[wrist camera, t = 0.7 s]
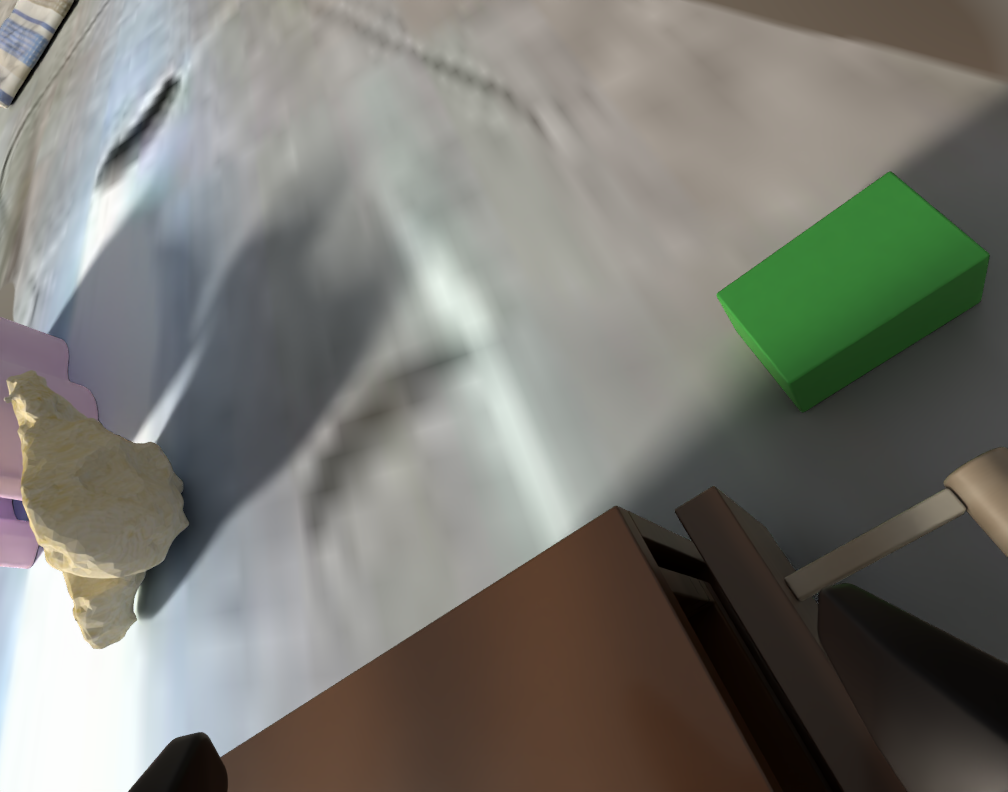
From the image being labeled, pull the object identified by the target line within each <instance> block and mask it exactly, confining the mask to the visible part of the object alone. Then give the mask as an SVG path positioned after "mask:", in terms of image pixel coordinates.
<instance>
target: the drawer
mask: <svg viewBox="0 0 1008 792" xmlns="http://www.w3.org/2000/svg"><path fill="white" fill-rule="evenodd" d="M944 486H945V487H946V489H944V490H942V491H940V492H938V493H936V494H935V495H933V496H931V497H929V498H927V499H926V500H924V501H922V502H920V503H918V504H917V505H915V506H913V507H911V508H909V509H908V510H906V511H904V512H902V513H900V514H899V515H897V516H895V517H893V518H891V519H890V520H888V521H886V522H884V523H882V524H880V525H879V526H877V527H875V528H873V529H871V530H870V531H868V532H866V533H864V534H862V535H861V536H859V537H857V538H855V539H853V540H852V541H850V542H848V543H846V544H844V545H843V546H841V547H839V548H837V549H835V550H834V551H832V552H830V553H828V554H826V555H824V556H823V557H821V558H819V559H817V560H815V561H814V562H812V563H810V564H808V565H806V566H805V567H803V568H801V569H799V570H797V571H795V570H794V568H793V567H792V565H791V564H790V562H789V561H788V559H787V558H786V556H785V555H784V554H783V552H782V551H781V549H780V548H779V546H778V545H777V543H776V542H775V540H774V539H773V537H772V536H771V534H770V533H769V531H768V530H767V528H766V527H765V526H764V525H762V524H761V523H760V522H759V521H757V520H756V519H755V518H754V517H752V516H751V515H750V514H749V513H748V512H746V511H745V510H744V509H743V508H741V507H740V506H739V505H738V504H736V503H735V502H734V501H733V500H732V499H730V498H729V497H728V496H727V495H725V494H724V493H723V492H722V491H720V490H719V489H718V488H717V487H715V486H712V487H710V488H709V489H707V490H706V491H704V492H702V493H701V494H699V495H697V496H696V497H694V498H693V499H691V500H689V501H688V502H686V503H685V504H683V505H681V506H680V507H678V508H676V509H675V513H676V515H677V517H678V518H679V520H680V522H681V523H682V525H683V527H684V528H685V530H686V532H687V533H688V535H689V537H690V538H691V540H692V542H693V543H694V545H695V547H696V548H697V550H698V552H699V553H700V555H701V557H702V558H703V560H704V562H705V563H706V565H707V567H708V568H709V570H710V572H711V573H712V575H713V577H714V578H715V580H716V582H717V583H718V585H719V587H720V588H721V590H722V592H723V593H724V595H725V597H726V598H727V600H728V602H729V603H730V605H731V607H732V608H733V610H734V612H735V613H736V615H737V617H738V618H739V620H740V622H741V623H742V625H743V627H744V628H745V630H746V632H747V633H748V635H749V637H750V638H751V640H752V642H753V643H754V645H755V647H756V648H757V650H758V652H759V653H760V655H761V657H762V658H763V660H764V662H765V663H766V665H767V667H768V668H769V670H770V672H771V673H772V675H773V677H774V678H775V680H776V682H777V683H778V685H779V687H780V688H781V690H782V692H783V693H784V695H785V697H786V698H787V700H788V702H789V703H790V705H791V707H792V708H793V710H794V712H795V713H796V715H797V717H798V718H799V720H800V722H801V723H802V725H803V727H804V728H805V730H806V732H807V733H808V735H809V737H810V738H811V740H812V742H813V743H814V745H815V747H816V748H817V750H818V752H819V753H820V755H821V757H822V758H823V760H824V762H825V763H826V765H827V767H828V768H829V770H830V772H831V773H832V775H833V777H834V778H835V780H836V782H837V783H838V785H839V787H840V788H841V790H842V792H907V791H906V789H905V788H904V786H903V785H902V783H901V782H900V780H899V779H898V777H897V776H896V774H895V773H894V771H893V770H892V768H891V767H890V766H889V764H888V762H887V761H886V759H885V758H884V756H883V755H882V753H881V752H880V750H879V749H878V747H877V745H876V744H875V742H874V740H873V738H872V737H871V735H870V733H869V731H868V730H867V728H866V726H865V724H864V722H863V720H862V719H861V717H860V715H859V713H858V711H857V709H856V708H855V706H854V704H853V702H852V700H851V698H850V697H849V695H848V693H847V691H846V689H845V687H844V686H843V684H842V682H841V680H840V678H839V676H838V675H837V673H836V671H835V669H834V667H833V665H832V663H831V662H830V660H829V658H828V656H827V654H826V652H825V651H824V649H823V647H822V645H821V642H820V640H819V636H818V631H817V621H818V604H817V602H816V601H815V599H814V598H813V595H815V594H816V593H818V592H820V591H821V589H823V588H825V587H829V586H831V585H833V584H835V583H837V582H839V581H841V580H842V579H844V578H846V577H848V576H850V575H852V574H854V573H855V572H857V571H859V570H861V569H863V568H865V567H867V566H868V565H870V564H872V563H874V562H876V561H878V560H880V559H881V558H883V557H885V556H887V555H889V554H891V553H893V552H894V551H896V550H898V549H900V548H902V547H904V546H906V545H907V544H909V543H911V542H913V541H915V540H917V539H919V538H920V537H922V536H924V535H926V534H928V533H930V532H932V531H933V530H935V529H937V528H939V527H941V526H943V525H945V524H946V523H948V522H950V521H952V520H954V519H956V518H958V517H959V516H961V515H963V514H964V513H965V511H967V512H968V513H969V514H970V516H971V517H972V518H973V519H974V520H975V521H976V522H977V523H978V525H979V526H980V527H981V528H982V529H983V530H984V531H985V533H986V534H987V535H988V536H989V537H990V538H991V539H992V541H993V542H994V543H995V544H996V545H997V546H998V547H999V549H1000V550H1001V551H1002V552H1003V553H1004V554H1005V555H1006V556H1007V558H1008V449H1007V448H1005V447H999V448H995V449H992V450H990V451H987V452H985V453H983V454H981V455H979V456H977V457H975V458H974V459H972V460H970V461H969V462H967V463H965V464H964V465H962V466H961V467H959V468H958V469H956V470H955V471H954V472H952V473H951V474H950V475H949V476H948V477H947V478H946V479H945V480H944ZM659 569H660V570H661V572H662V574H663V576H664V578H665V579H666V581H667V583H668V585H669V587H670V588H671V590H672V592H673V594H674V596H675V597H676V599H677V601H678V603H679V605H680V606H681V608H682V610H683V612H684V614H685V615H686V617H687V619H688V621H689V623H690V624H691V626H692V628H693V630H694V632H695V633H696V635H697V637H698V639H699V641H700V642H701V644H702V646H703V648H704V650H705V651H706V653H707V655H708V657H709V659H710V660H711V662H712V664H713V666H714V668H715V669H716V671H717V673H718V675H719V677H720V678H721V680H722V682H723V684H724V686H725V687H726V689H727V691H728V693H729V695H730V696H731V698H732V700H733V702H734V704H735V705H736V707H737V709H738V711H739V713H740V714H741V716H742V718H743V720H744V722H745V723H746V725H747V727H748V729H749V731H750V732H751V734H752V736H753V738H754V740H755V741H756V743H757V745H758V747H759V749H760V750H761V752H762V754H763V756H764V758H765V760H766V761H767V763H768V765H769V767H770V769H771V770H772V772H773V774H774V776H775V778H776V779H777V781H778V783H779V785H780V787H781V788H782V790H783V792H833V791H832V789H831V788H830V786H829V784H828V782H827V781H826V779H825V777H824V776H823V774H822V772H821V771H820V769H819V767H818V766H817V764H816V762H815V761H814V759H813V757H812V755H811V754H810V752H809V750H808V749H807V747H806V745H805V744H804V742H803V740H802V739H801V737H800V735H799V734H798V732H797V730H796V728H795V727H794V725H793V723H792V722H791V720H790V718H789V717H788V715H787V713H786V712H785V710H784V708H783V707H782V705H781V703H780V701H779V700H778V698H777V696H776V695H775V693H774V691H773V690H772V688H771V686H770V685H769V683H768V681H767V680H766V678H765V676H764V674H763V673H762V671H761V669H760V668H759V666H758V664H757V663H756V661H755V659H754V658H753V656H752V654H751V653H750V651H749V649H748V647H747V646H746V644H745V642H744V641H743V639H742V637H741V636H740V634H739V632H738V631H737V629H736V627H735V626H734V624H733V622H732V620H731V619H730V617H729V615H728V614H727V612H726V610H725V609H724V607H723V605H722V604H721V602H720V600H719V599H718V597H717V595H716V593H715V592H714V590H713V588H712V587H711V585H710V584H709V583H708V582H705V581H702V580H699V579H696V578H693V577H690V576H687V575H683V574H680V573H677V572H674V571H671V570H668V569H665V568H661V567H659Z"/></svg>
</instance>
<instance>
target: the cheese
mask: <svg viewBox="0 0 1008 792" xmlns="http://www.w3.org/2000/svg"><path fill="white" fill-rule="evenodd" d="M6 381H7V385H8V389H9V396H8V397H5V398H4V401H6V403H10V402H12V405H13V410H14V413H15V415H16V418H17V420H18V424H19V429H18V431H17V432H18V434H19V437H20V440H21V449H22V457H23V463H22V464H23V472H22V478H21V488H20V490H21V494H22V501H23V506H24V508H25V511H26V513H27V516H28V518H29V522H30V527H31V529H32V531H33V533H34V535H35V537H36V540H37V542H38V544H39V545H40V546H42V547H43V549H44V552H45V558H46V561H47V562H48V563H49V564H50V566H51V567H53V568H55V569H58V570H60V571H62V572H63V575H64V578H65V581H66V585H67V588H68V592H69V594H70V596H71V598H72V599H73V602H74V608H73V615H74V618H75V620H76V621H77V623H78V624H79V626H80V628H81V631H82V634H83V637H84V639H85V641H87V642H88V643H89V644H90V645H91V646H92V647H93V649H103V648H105V647H107V646H109V645H111V644H113V643H115V642H118V641H120V640H121V639H122V638H123V637H124V636H125V634H126V632H127V630H128V629H129V628H130V626H131V625H132V624H133V623H134V622H135V621H137V618H136V615H135V613H134V612H133V604H134V598H135V595H136V592H137V590H138V588H139V586H140V584H141V582H142V581H143V580H144V578H145V575H146V571H147V570H149V569H150V568H152V567H154V566H156V565H158V564H160V563H161V562H162V561H164V559H165V557H166V555H167V553H168V550H169V548H170V546H171V544H172V542H173V540H174V539H175V538H176V536H177V535H178V534H179V533H180V532H182V531H183V530H184V529H186V527H187V526H188V525H189V522H188V520H187V518H186V516H185V514H184V512H183V505H184V501H183V497H182V496H181V493H182V491H183V482H182V480H181V479H180V478H179V477H178V476H177V475H176V474H175V473H174V472H173V469H172V466H171V464H170V462H169V460H168V458H167V457H166V455H165V454H164V453H163V451H162V449H161V447H160V446H158V445H157V444H155V443H153V442H148V443H144V444H142V443H133V442H131V441H128V440H126V439H124V438H123V437H121V436H119V435H115V434H113V433H112V432H110V431H108V430H107V429H105V428H104V427H103V425H102V424H101V423H100V422H98V421H97V420H96V419H94V418H87V417H86V416H85V415H83V414H82V413H80V412H79V411H78V410H77V409H75V408H74V407H73V405H72V404H71V403H70V402H69V401H67V400H66V399H65V398H64V397H62V396H61V395H59V394H57V393H55V392H54V391H52V390H51V389H50V388H49V387H48V386H47V382H46V379H45V378H44V377H42V376H38V375H37V373H36V371H33V370H30V371H27V372H25V373H23V374H21V375H16V376H11V377H9V378H8V379H7V380H6Z"/></svg>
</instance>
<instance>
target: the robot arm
mask: <svg viewBox="0 0 1008 792" xmlns="http://www.w3.org/2000/svg"><path fill="white" fill-rule="evenodd" d="M817 631H818V636H819V640H820V642H821V645H822V647H823V649H824V651H825V652H826V654H827V656H828V658H829V660H830V662H831V663H832V665H833V667H834V669H835V671H836V673H837V675H838V676H839V678H840V680H841V682H842V684H843V686H844V687H845V689H846V691H847V693H848V695H849V697H850V698H851V700H852V702H853V704H854V706H855V708H856V709H857V711H858V713H859V715H860V717H861V719H862V720H863V722H864V724H865V726H866V728H867V730H868V731H869V733H870V735H871V737H872V738H873V740H874V742H875V744H876V745H877V747H878V749H879V750H880V752H881V753H882V755H883V756H884V758H885V759H886V761H887V762H888V764H889V766H890V767H891V768H892V770H893V771H894V773H895V774H896V776H897V777H898V779H899V780H900V782H901V783H902V785H903V786H904V788H905V789H906V791H907V792H1008V664H1007V663H1005V662H1003V661H1001V660H999V659H997V658H995V657H993V656H991V655H989V654H987V653H985V652H983V651H982V650H980V649H978V648H976V647H974V646H972V645H970V644H968V643H966V642H964V641H962V640H960V639H958V638H956V637H954V636H952V635H950V634H948V633H946V632H945V631H943V630H941V629H939V628H937V627H935V626H933V625H931V624H929V623H927V622H925V621H923V620H921V619H919V618H917V617H915V616H913V615H911V614H909V613H908V612H906V611H904V610H902V609H900V608H898V607H896V606H894V605H892V604H890V603H888V602H886V601H884V600H882V599H880V598H878V597H876V596H874V595H873V594H871V593H869V592H867V591H865V590H863V589H861V588H859V587H857V586H855V585H853V584H849V583H842V584H838V585H833V586H829V587H825V588H823V589H821V591H820V593H819V597H818V621H817ZM227 791H228V775H227V771H226V768H225V765H224V764H223V762H222V760H221V758H220V756H219V755H218V753H217V751H216V749H215V747H214V745H213V744H212V742H211V740H210V738H209V737H208V735H206V734H205V733H203V732H198V733H194V734H190V735H185V736H181V737H178V738H175V739H174V740H172V741H171V742H170V743H169V744H168V745H167V746H166V747H165V749H164V750H163V751H162V752H161V753H160V754H159V756H158V757H157V758H156V759H155V760H154V762H153V763H152V764H151V765H150V766H149V767H148V769H147V770H146V771H145V772H144V773H143V775H142V776H141V777H140V778H139V779H138V780H137V782H136V783H135V784H134V785H133V786H132V788H131V789H130V790H129V791H128V792H227Z"/></svg>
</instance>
